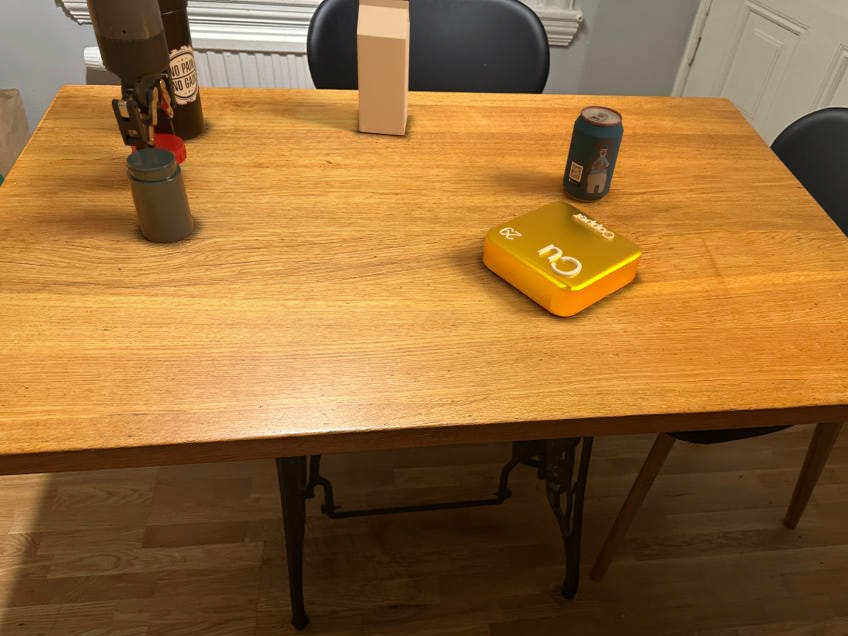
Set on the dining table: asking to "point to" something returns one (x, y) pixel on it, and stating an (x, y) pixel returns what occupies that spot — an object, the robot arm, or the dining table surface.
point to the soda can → (593, 153)
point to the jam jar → (159, 195)
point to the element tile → (561, 257)
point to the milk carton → (383, 65)
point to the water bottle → (182, 70)
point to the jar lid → (170, 146)
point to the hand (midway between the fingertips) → (160, 156)
